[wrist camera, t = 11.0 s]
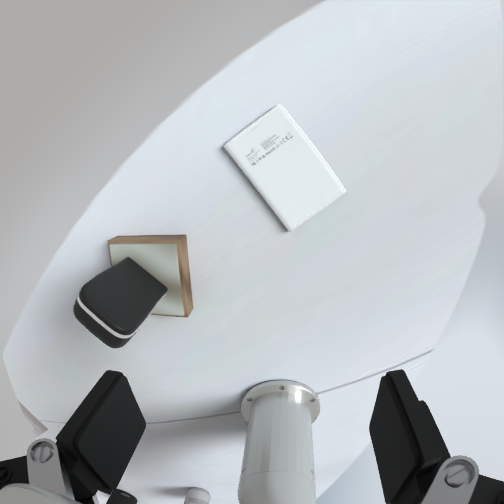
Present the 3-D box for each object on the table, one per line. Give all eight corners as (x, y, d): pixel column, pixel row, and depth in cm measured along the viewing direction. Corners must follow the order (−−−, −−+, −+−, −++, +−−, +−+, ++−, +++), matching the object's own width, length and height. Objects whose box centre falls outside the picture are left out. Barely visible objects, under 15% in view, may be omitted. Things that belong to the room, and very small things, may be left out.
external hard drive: (289, 230, 35) (224, 146, 33) (344, 190, 33) (280, 105, 31) (289, 233, 33) (222, 146, 31) (347, 191, 31) (280, 102, 29)
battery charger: (115, 275, 35) (63, 315, 24) (127, 253, 34) (72, 289, 23) (157, 309, 36) (115, 360, 25) (171, 288, 35) (129, 338, 24)
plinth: (193, 308, 38) (186, 318, 36) (128, 303, 39) (119, 313, 37) (186, 234, 36) (178, 240, 33) (117, 236, 37) (106, 241, 34)
